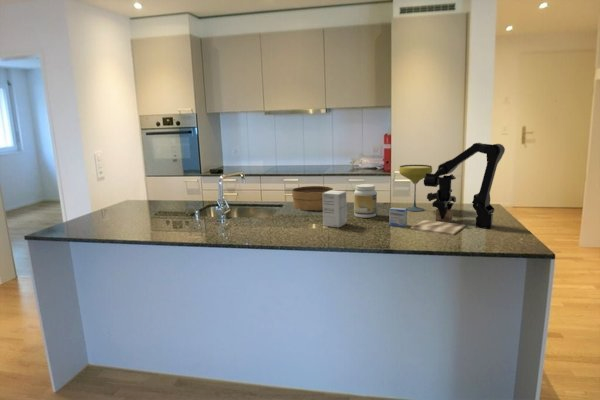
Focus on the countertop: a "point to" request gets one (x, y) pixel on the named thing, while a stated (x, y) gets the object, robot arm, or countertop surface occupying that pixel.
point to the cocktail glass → (415, 178)
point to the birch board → (438, 227)
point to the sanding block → (447, 216)
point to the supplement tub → (365, 201)
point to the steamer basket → (309, 197)
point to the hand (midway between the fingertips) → (443, 218)
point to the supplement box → (334, 208)
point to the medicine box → (398, 217)
